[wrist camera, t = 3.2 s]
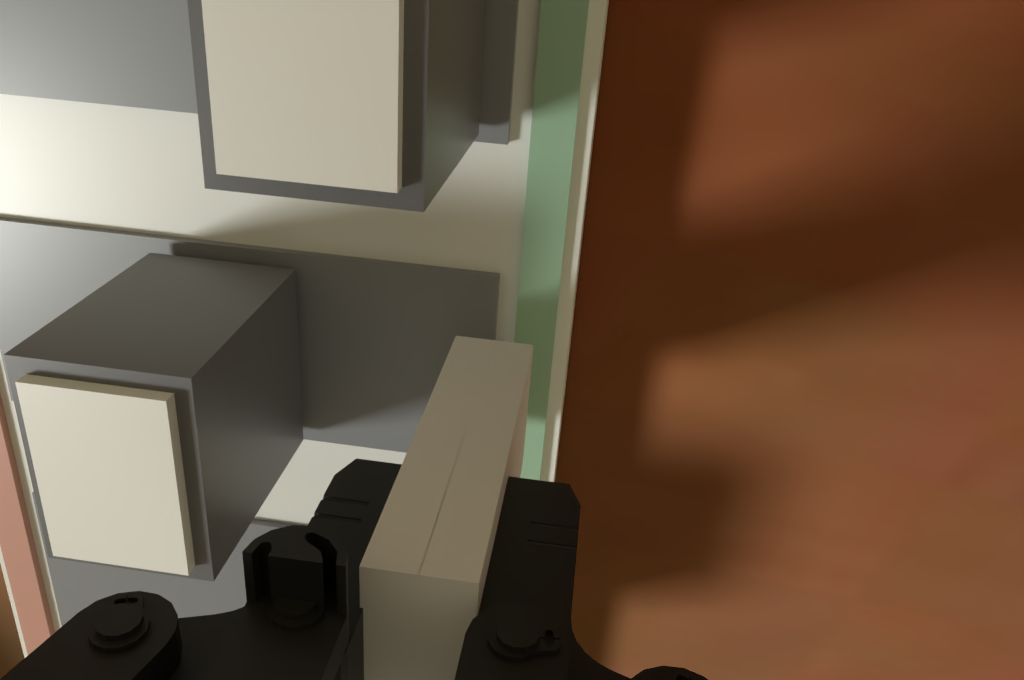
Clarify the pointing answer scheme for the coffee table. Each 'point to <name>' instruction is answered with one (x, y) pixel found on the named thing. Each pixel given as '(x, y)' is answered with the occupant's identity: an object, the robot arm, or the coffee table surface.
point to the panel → (284, 251)
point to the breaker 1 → (161, 413)
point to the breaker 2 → (337, 96)
